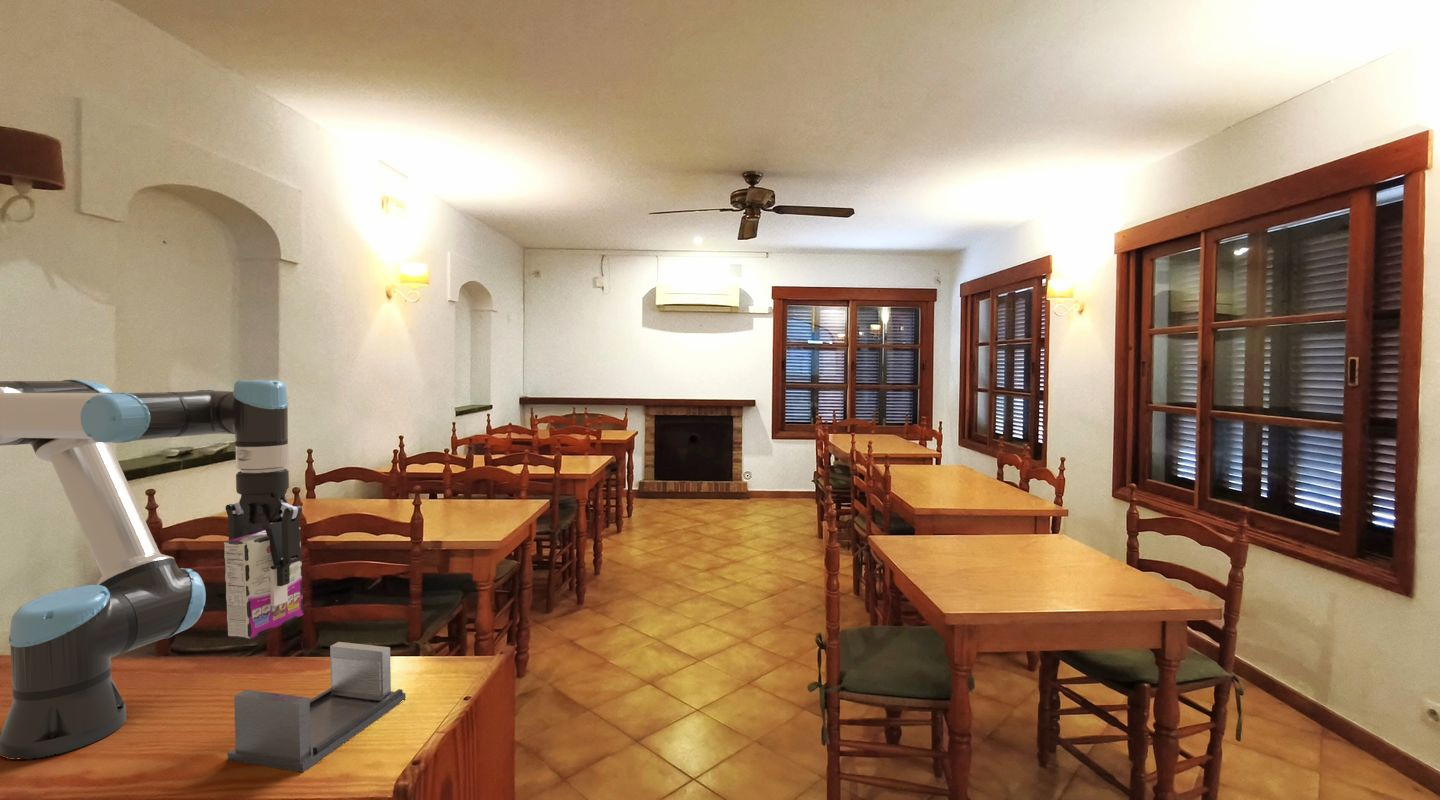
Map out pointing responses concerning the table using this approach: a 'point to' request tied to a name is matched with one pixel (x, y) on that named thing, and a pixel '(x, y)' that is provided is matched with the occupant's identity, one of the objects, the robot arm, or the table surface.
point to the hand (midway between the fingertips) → (265, 601)
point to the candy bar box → (257, 587)
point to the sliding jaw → (360, 671)
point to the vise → (299, 726)
